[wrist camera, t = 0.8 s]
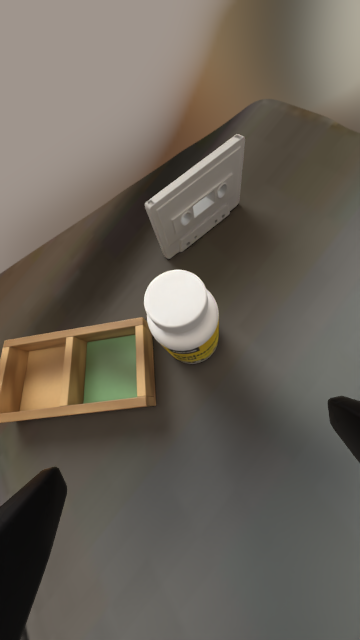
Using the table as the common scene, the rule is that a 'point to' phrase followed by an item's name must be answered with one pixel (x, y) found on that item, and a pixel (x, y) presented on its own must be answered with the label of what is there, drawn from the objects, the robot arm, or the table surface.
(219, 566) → the table surface
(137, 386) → the tray
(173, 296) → the supplement bottle
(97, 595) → the table surface
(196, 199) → the cassette
